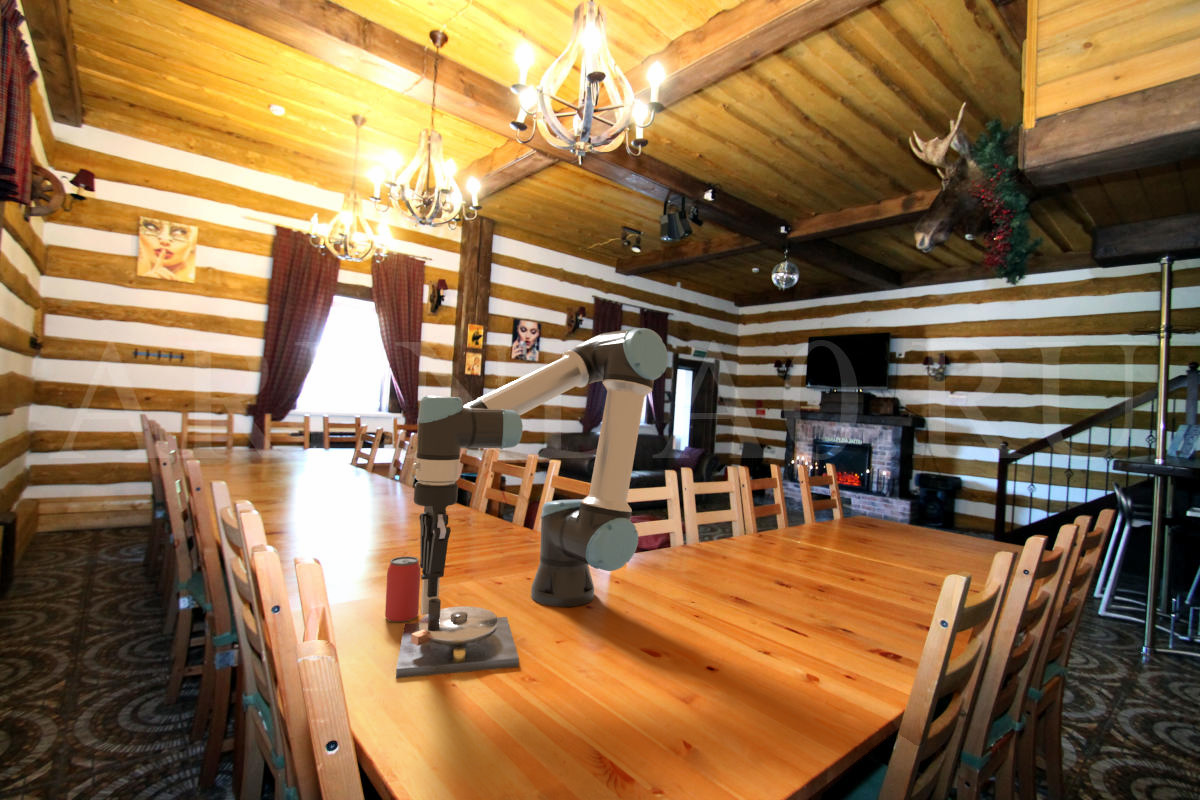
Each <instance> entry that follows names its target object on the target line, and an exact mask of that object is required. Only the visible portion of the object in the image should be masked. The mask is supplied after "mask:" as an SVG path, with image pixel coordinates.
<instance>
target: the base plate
mask: <svg viewBox="0 0 1200 800" xmlns="http://www.w3.org/2000/svg"><path fill="white" fill-rule="evenodd" d="M418 631H419V622H409V623H404V626H403V631H402V637H401V642H400V647H399V653H398V658H397V664H396V670H395V679H400V678H401V679H402V678H411V677H412V678H413V677H424V676H431V675H432V676H434V675H444V674H455V673H456V674H457V673H465V672H475V671H488V670H498V669H507V668H508V669H510V668H519V662H520V661H519V659H520V657H519V654H518V651H517V648H516V643H515V640H514V636H513V634H512V630H511V627H510V623H509V620H508V617H507V616H501V617H500V616H498V617H497V629H496V631H495V632H494V633H493V634H492V635H491V636H489V637H488V638H485V639H483V640H480V641H477V642H473V643H468V644H459V645H445V644H437V643H433V642H427V643H424V644H422V645H419V646H417V645H415V644H413V643H411V636H412V633H415V632H418Z"/></svg>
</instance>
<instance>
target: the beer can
mask: <svg viewBox="0 0 1200 800" xmlns="http://www.w3.org/2000/svg"><path fill="white" fill-rule="evenodd" d="M389 561H390V564H389V566H388V568H387V573H386V593H385V611H384V615H385V618H386V620H387V621H389V622H392V623H405V621H406V622H409V620H410V621H413V620H414V619H416V618H417V617H418V616H419V610H420V609H419V608H420V607H419V605H420V587H421V586H420V584H421V568H420V562H419V559H418V557H415V556H399V557H395V558H392V559H391V560H389Z"/></svg>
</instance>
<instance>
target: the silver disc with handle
mask: <svg viewBox="0 0 1200 800" xmlns="http://www.w3.org/2000/svg"><path fill="white" fill-rule="evenodd" d="M441 604H442V603H441V599H440V598H439V599H431V600H429V612H428V614H426V615H423V616H422V618H420V620H419V622H418V623H419V631H418V632H415V633H412V636H411V643H413V644H415V645H417V646H419V645H422V644H424V643H427V642H433V643H437V644H445V645H459V644H468V643H473V642H477V641H480V640H483V639H485V638H488V637H489V636H491V635H492V634H493V633H494V632H495V631H496V629H497V614H495V612H493V611H491V610H489V609H487V608H483V607H476V606H451V607H444V608H441V606H442V605H441Z"/></svg>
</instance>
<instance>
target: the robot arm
mask: <svg viewBox="0 0 1200 800" xmlns="http://www.w3.org/2000/svg"><path fill="white" fill-rule="evenodd" d="M668 361H669V356H668V350H667V346H666V344H665V343H664V342H663V339H662V337H661V336H660V335H659V333H657V332H655V331H654V330H652V329H650V328H645V327H642V328H641V327H639V328H638V327H632V328H630V329H624V330H617V331H610V332H603V333H600V334H598V335H595V336H593V337H591V338H589V339H588V340H585V341H583V342H581V343H579V344H577V345H575V346H574V347H572V348H569V349H568V350H565V352H563V354H562V355H561V358H559V359H557V360H555V361H553V362H551V363H549V364H546V365H545V366H542V367H541V368H538V369H536V370H534V371H532V372H530V373H528V374H526V375H523V376H522V377H519V378H518V379H516V380H514V381H511V382H508V383H507V384H505V385H503V386H501V387H499V388H497V389H494V390H493V391H491V392H488V393H487V394H484V395H482V396H480V397H477V398H476V399H475V400H472V401H470V402H467V403H465V404H464V402H463V399H462V398H461V397H457V396H442V395H441V396H437V395H425V396H423V397H422V398H421V399H420V402H419V408H418V414H417V415H418V417H417V436H416V437H417V438H416V439H417V441H416V442H417V443H416V444H417V445H416V460H415V461H416V462H415V463H413V464H412V468H413V469H415V479H416V480H417V482H415V484H414V489H413V502H414V503H415V505H417V506H421V507H424V508H423V512H422V513H420V515H419V517H418V518H419V524H420V536H419V537H420V538H419V541H420V548H419V549H420V558H419V559H420V561H419V565H420V569H422V570H421V573H422V574H420V580H421V581H422V583H421V585H422V586H421V604H420V614H421V615H422V616H425V615H427V614H428V612H429V600H431V599H440V597H439V595H440V582H441V581H440V580H441V578H443V577H444V576H445V568H446V560H447V551H448V545H449V540H450V539H449V538H450V535H451V532H452V529H451V527H450V526H447V525H448V524H449V515H448V514H447V507H449V506H453V505H455V504H456V503H457V501H458V495H459V494H458V492H459V485H458V483H457V481H458V480H459V478H460V463H461V461H460V460H461V449H500V450H503V449H509V448H510V449H512V448H515V447H517V445H518V444H519V443H520V442H521V440H522V436H523V420H522V418H521V415H524V414H526V413H527V412H530V411H531V410H533V409H535V408H537V407H539V406H541V405H543V404H545V403H547V402H548V401H550V400H553V399H554V398H556V397H558V396H560V395H562V394H564V393H565V392H567V391H569V390H571V389H573V388H575V387H576V388H585V387H587V386H588V385H589V384H594V383H596V382H601V383H602V385H603V386H604V387H605V389H606V391H607V393H606V398H605V404H604V409H603V415H602V420H601V427H600V431H599V437H598V443H597V448H596V454H595V460H594V463H593V465H594V466H593V471H592V476H591V481H590V487H589V492H588V493H589V494H588V495H587V496H586V497H584V498H583V499H579V498H578V499H558V500H550V501H546V502H545V503H543V505H542V507H541V508H542V509H541V516H540V519H541V520H540V521H541V523H540V526H541V527H540V551H539V552H540V553H539V557H540V558H539V563H538V564H539V565H538V567H537V570H536V573H535V576H534V579H533V581H532V584H531V589H530V591H531V593H530V596H531V597H530V598H531V599H533V601H535V602H537V603H538V604H542V605H545V606H550V607H558V608H560V607H561V608H562V607H563V608H568V607H569V608H570V607H579V606H583V605H585V604H589V603H590V602H592V601H593V600H594V598H595V585H594V581H593V578H592V574H591V571H590V567H591V568H593V569H596V570H597V569H599V570H601V571H604V572H605V571H606V572H613V571H617V570H619V569H621V568H624V566H625V565H626V564H627V563H629V562H630V561H631V559H632V558H633V557H634V555H635V552H636V551H637V547H638V545H639V533H638V530H637V528H636V526H635V523H633V522H632V521H631V520H632V519H631V518H632V512H633V511H632V508H631V506H630V505H629V503H628V496H629V490H630V483H631V480H632V479H631V478H632V472H633V468H634V467H633V466H634V460H635V455H636V448H637V443H638V437H639V436H638V435H639V430H640V424H641V418H642V412H643V407H644V401H645V397H646V396H648V395H649V394H651V393H652V392H653V388H654V381H655V380H657V379H659V378H660V377H661V376H662V375H663V374H664V373H665V372H666V369H667V367H668ZM589 566H590V567H589Z"/></svg>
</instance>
